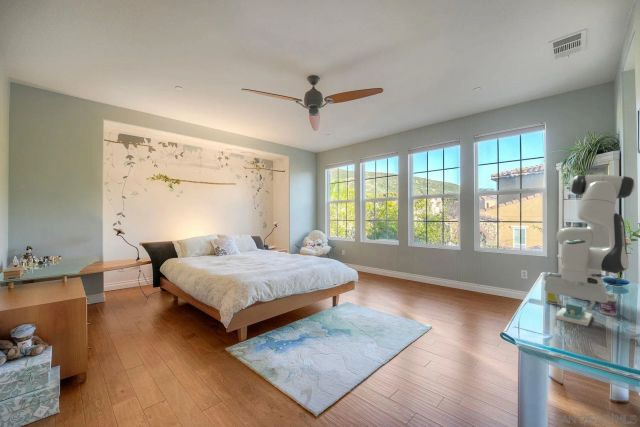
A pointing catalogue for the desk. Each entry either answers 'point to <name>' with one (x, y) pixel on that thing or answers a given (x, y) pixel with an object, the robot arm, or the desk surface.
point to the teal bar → (576, 308)
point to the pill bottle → (609, 305)
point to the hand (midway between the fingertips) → (574, 307)
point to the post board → (583, 320)
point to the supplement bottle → (551, 298)
